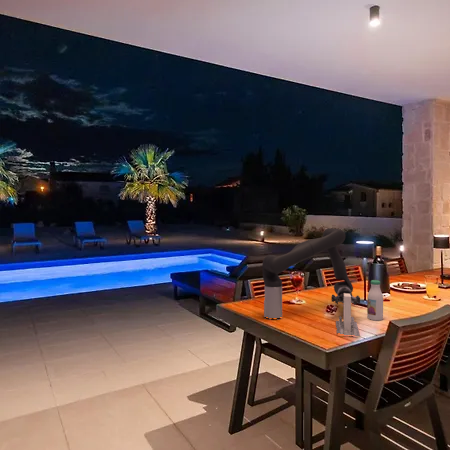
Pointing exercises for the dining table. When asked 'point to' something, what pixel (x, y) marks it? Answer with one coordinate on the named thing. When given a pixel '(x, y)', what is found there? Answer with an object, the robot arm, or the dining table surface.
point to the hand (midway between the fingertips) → (346, 302)
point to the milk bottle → (375, 301)
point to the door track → (341, 330)
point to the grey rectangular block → (347, 311)
